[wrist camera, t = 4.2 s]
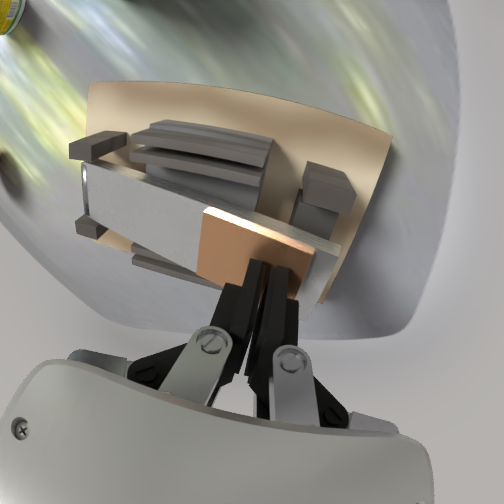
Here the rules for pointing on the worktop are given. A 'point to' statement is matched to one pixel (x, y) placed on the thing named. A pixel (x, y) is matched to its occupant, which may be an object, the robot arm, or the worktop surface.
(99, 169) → the strap
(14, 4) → the supplement bottle
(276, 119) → the heatsink base
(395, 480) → the robot arm
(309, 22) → the worktop surface
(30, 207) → the worktop surface
